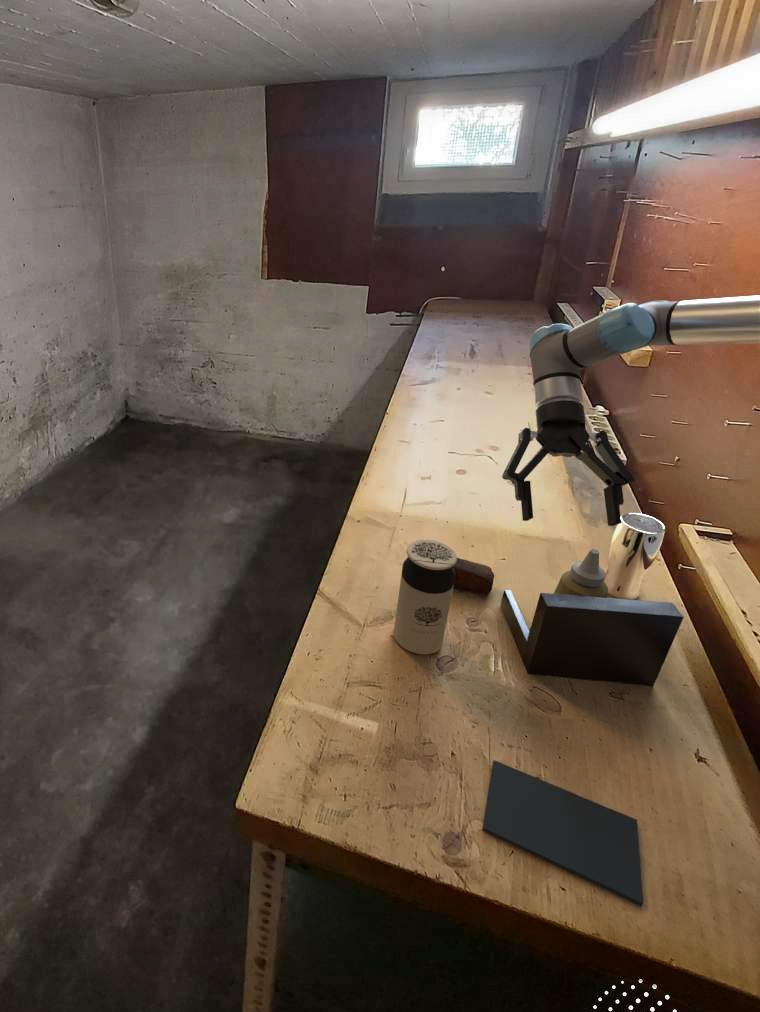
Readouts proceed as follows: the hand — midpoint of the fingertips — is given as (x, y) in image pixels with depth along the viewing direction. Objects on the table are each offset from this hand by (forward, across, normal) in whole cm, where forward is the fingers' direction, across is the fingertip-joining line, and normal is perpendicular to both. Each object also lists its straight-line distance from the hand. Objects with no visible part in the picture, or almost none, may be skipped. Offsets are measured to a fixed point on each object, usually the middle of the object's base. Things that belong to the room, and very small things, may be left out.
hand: (570, 522), depth 95 cm
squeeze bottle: (+19, 0, -6) cm, 20 cm away
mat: (+42, +12, +17) cm, 47 cm away
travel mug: (+21, +25, -4) cm, 33 cm away
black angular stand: (+20, 0, -5) cm, 20 cm away
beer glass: (+9, -14, -16) cm, 23 cm away
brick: (+10, +15, -14) cm, 23 cm away
